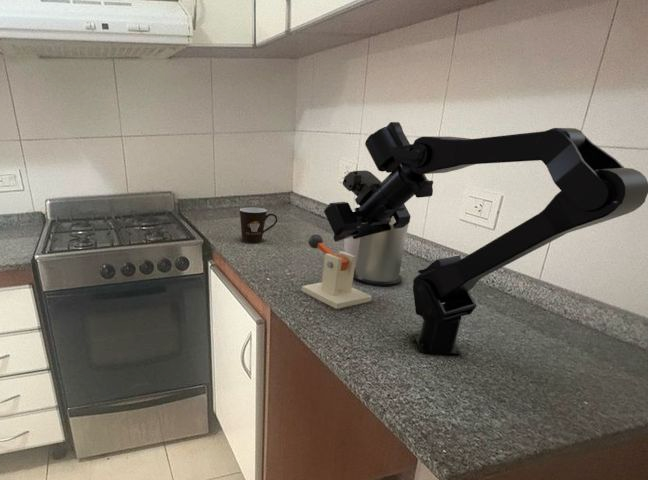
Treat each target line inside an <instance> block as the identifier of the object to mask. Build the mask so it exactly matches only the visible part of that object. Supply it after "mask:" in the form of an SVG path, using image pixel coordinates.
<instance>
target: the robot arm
mask: <svg viewBox="0 0 648 480" xmlns="http://www.w3.org/2000/svg"><path fill="white" fill-rule="evenodd" d="M364 145H365V148H366V150H367V151H368V154H369V155H370V157H371V159H372V161H373V163H374V165H375V166H376V168H377V171H379V172H386V173H388V175H387V176H386V177H385V178H384V179H383V180H382V181H381V180H380V179H379V178H378V177H377V176H376V175H374V174H373V173H372V172H371V171H370V170H366V169H365V170H353V171H349V172H348V173H347V174H346V175H345V176H344V177H343V181H342V186H343V187H344V188H345V189H346V190H347V191H348V192H351V193H353V195H355V196H356V198H354V201H355V203H356V205H359V207H355V208H353V209H354V211H353V209H352V207H351V205H350V203H349V202H347V201H337V202H329V203H328V205H327V206H326V207H325V208H324V210H323V213H324V215H325V217H326V219H327V221H328V224H329V225H330V228H331V230H332V232H333V240H334V242H335V243H336V242H341V241H344V239H346V238H349V237H353V239H357V238H361V237H365V236H368V235H372V234H376V233H380V232H384V231H389V230H391V226H390V224H389V222H390V221H391V220H390V219H391V218H392V216H393V217H394V219H395V220H396V222H395V223H394V224H393V227H394V229H396V228H403V227H405V226H406V225H407V224H408V223H409V224H410V222H411V217H412V216H411V214H410V212H409V209H408V208H407V206H406V205H405V204H406V203H407V202H408V201H409V200H410V199H412V198H413V197H414V196H415V197H416V198H417V199H419V198H426V197H427V198H429V197H432V196H433V194H434V187H433V185H434V180H429V179H428V178H427V175H430V174H431V175H432V174H433V175H434V174H444V173H445V174H446V173H449V172H453V171H458V170H463V169H465V168H468V167H471V166H475V165H486V164H501V163H502V164H504V163H520V162H536V161H539V162H540V161H541V162H542V163H543V164H544V165H545V167H546V168H547V170H548V172H549V175H550V177H551V179H552V181H553V183H554V184H555V185H556V187H557V188H558V189H559V190H560V191H558V193H557V194H556V195H554V196H553V198H552V199H551V200H550V201H549V202H548V204H547V205H546V206H545V208H543V209H542V210H541V211H540V212H539V213H537V214H535V215H534V216H532V217H530V218H529V219H527V220H525V221H523V222H522V223H520V224H518V225H516V226H515V227H514V228H512V229H510V230H508V231H507V232H505V233H503V234H502V235H499V236H498V237H496V238H495V239H493V240H491V241H490V242H488V243H486V244H484V245H483V246H481V247H480V248H477V249H476V250H474V251H473V252H471V253H470V254H467V255H466V256H464V257H463V258H461V255H455V256H449V257H444V258H438V259H435V260H433V262H431V263H430V264H429V266H427V267H425V268H423V269H422V268H421V269H419V270H417V272H418V273H419V274H417V276H416V277H414V279H413V281H412V293H413V300H414V309H415V314H416V315H417V316H420V317H421V318H422V326H421V329H420V333H414V334H413V340H414V342H415V343H416V345H417V347H418V349H419V351H420V352H421V353H422V354H423V353H424V354H436V355H448V356H461V354H462V352H461V350H460V348H459V347H458V346H457V345H456V340H457V337H458V333H459V329H460V325H461V321H462V317H464V316H470V315H472V314H473V312H474V311H475V309H476V308H477V303H476V302H475V300H474V298H473V296H472V294H471V292H470V291H471V290H472V289H473V288H474V287H475V286H476V285H477V283H478V282H479V281H480V280H481V279H482V278H484V277H486V276H488V275H490V274H492V273H494V272H495V271H497V270H500V269H502V268H503V267H505V266H507V265H510V264H511V263H514V262H515V261H517V260H518V259H521V258H522V257H525V256H526V255H528V254H531V253H532V252H534V251H536V250H538V249H540V248H542V247H544V246H546V245H548V244H549V243H551V242H553V241H555V240H557V239H559V238H561V237H563V236H565V235H567V234H569V233H572V232H576V231H579V230H581V229H586V228H588V227H592V226H594V225H599V224H601V223H605V222H607V221H610V220H613V219H617V218H619V217H622V216H625V215H628V214H630V213H632V212H635V211H636V210H637V209H640V208H641V207H642V206H643V204H644V203H645V202H646V199H647V196H648V179H647V177H646V176H645V175H644V174H643V173H642V172H641V171H639V170H637V169H635V168H631V167H630V168H629V167H625V166H624V165H623V164H621V162H620V161H618V160H617V159H616V158H615V157H613V156H612V155H611V154H609V153H608V152H606V151H605V150H603V149H602V148H601V147H599V146H598V145H597V144H595V143H593V142H592V140H590V139H589V138H588V137H587V136H586V135H585V134H584V133H583V131H582V130H580V129H578V128H573V127H553V128H550V129H547V130H543V131H533V132H523V133H515V134H506V135H497V136H496V135H495V136H488V137H487V136H486V137H478V138H477V137H476V138H468V137H460V136H459V137H458V136H419V137H417V138H416V139H415V140H414V141H413V143H412V144H411V143H410V141H409V140H408V138H407V136H406V134H405V133H404V130H403V127H402V125H401V123H400V121H390V122H389V123H388V124H387V125H386V126H384V127H381V128H380V129H377V130H376V131H374V133H371V134H370V135H368V137H367V138H366V140H365V143H364ZM409 224H408V225H409Z"/></svg>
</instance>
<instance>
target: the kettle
mask: <svg viewBox="0 0 648 480" xmlns="http://www.w3.org/2000/svg"><path fill="white" fill-rule="evenodd" d="M390 220H391V221H390V222H389V224H390V226H391V230H389V231H384V232H380V233H376V234H372V235H368V236H365V237H361V238H360V243H359V250H358V257H357V264H356V268H355V269H354V276H353V281H355V282H356V283H359V284H362V285H364V286H369V287H377V288H393V287H397V286H399V285H401V284H402V282H403V277H402V276H401V275H400V273H401V266H402V262H403V257H404V251H405V246H406V240H407V235H408V228H409V224H410V222H409V223H408V224H407V225H406V226H405V227H403V228H396V229H394V227H393V224H394V223H395V222H396V220H395V219H394V217H393V216H392V218H391V219H390Z"/></svg>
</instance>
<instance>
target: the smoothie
mask: <svg viewBox="0 0 648 480" xmlns="http://www.w3.org/2000/svg"><path fill="white" fill-rule="evenodd" d="M359 243H360V238H357V239H353V237H349V238H346V239H343V245H344V247H343V249H344V251H343V252H346V253H348V254H351V255H354V256H356V262H355V269H356V264H357V257H358V250H359Z"/></svg>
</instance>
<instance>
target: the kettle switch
mask: <svg viewBox="0 0 648 480" xmlns="http://www.w3.org/2000/svg"><path fill="white" fill-rule="evenodd" d="M308 245H309V246H310V248H312V249H318V250H319V251H321V252H322V253H323V255H325V254H331V255H334V256H336V257H339V258H342V263H341V271H344V270H346V268H347V265H348V263H349V261H348V260H347V259H346V258H345V257H343V256H342V255H339V254H335V252H333V251H332V250H331V249H330V248H328V247H327V246H326V245H325V244H324V240H323V237H322V236H321V235H319V234H313V235H311V236H310V237H309V238H308Z"/></svg>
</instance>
